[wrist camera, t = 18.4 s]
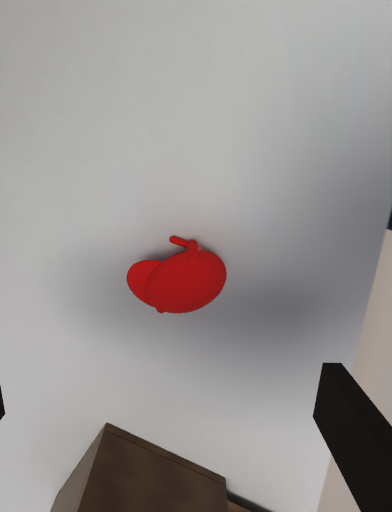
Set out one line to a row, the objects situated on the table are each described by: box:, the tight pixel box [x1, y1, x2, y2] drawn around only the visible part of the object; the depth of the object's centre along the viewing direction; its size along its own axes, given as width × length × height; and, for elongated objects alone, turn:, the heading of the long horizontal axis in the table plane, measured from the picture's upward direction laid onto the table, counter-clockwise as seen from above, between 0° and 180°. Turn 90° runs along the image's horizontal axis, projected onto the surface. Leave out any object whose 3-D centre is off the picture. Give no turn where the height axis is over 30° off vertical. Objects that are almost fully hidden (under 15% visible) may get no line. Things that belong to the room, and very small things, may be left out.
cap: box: [127, 236, 226, 313], centre depth 25 cm, size 8×6×6 cm
